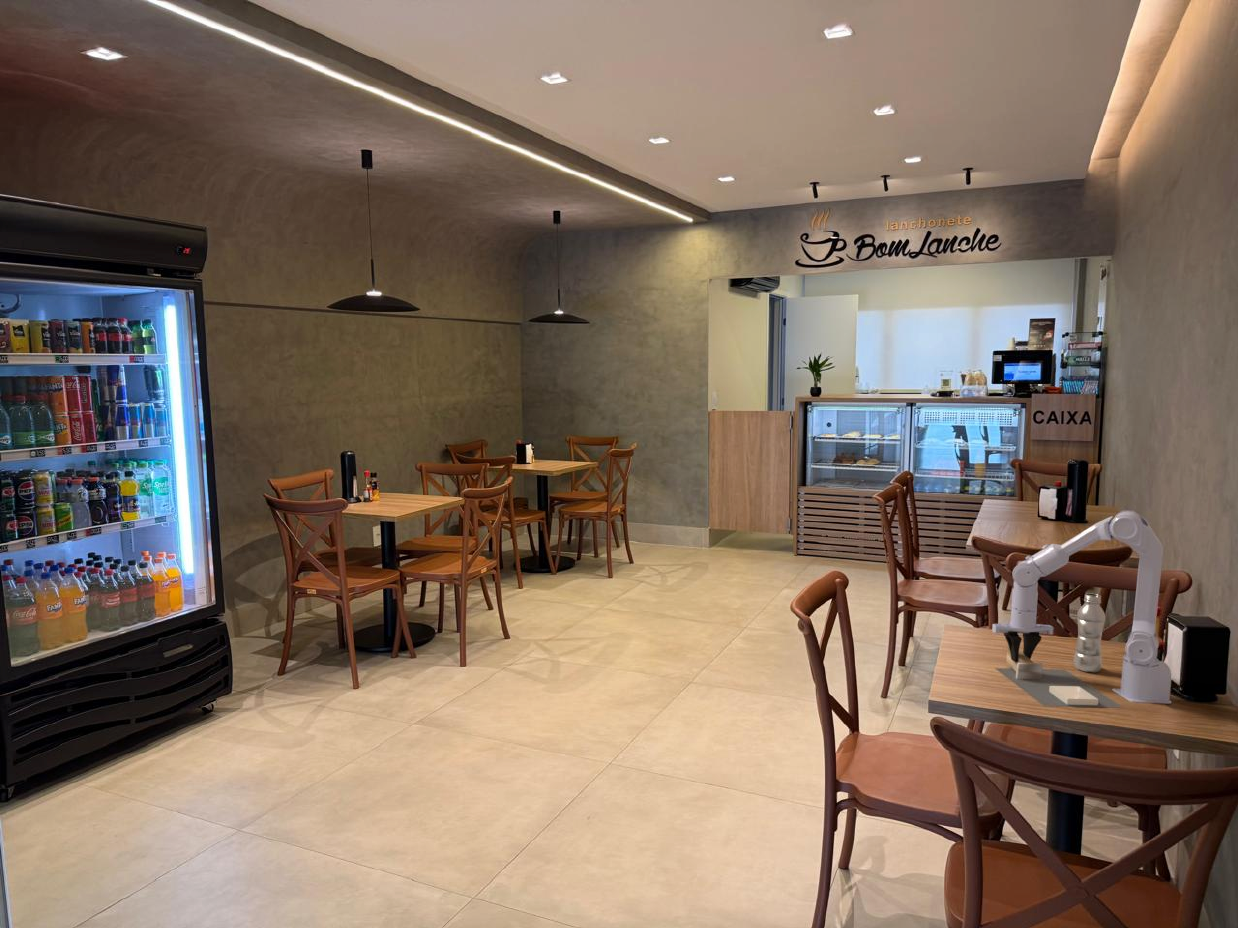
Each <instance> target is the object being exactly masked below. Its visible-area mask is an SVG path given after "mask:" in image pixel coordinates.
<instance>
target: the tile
mask: <svg viewBox="0 0 1238 928" xmlns="http://www.w3.org/2000/svg"><path fill="white" fill-rule="evenodd" d="M1049 692H1050V693H1051V694H1052V695H1054V696H1055V697H1056V698H1058V699H1059V700H1061V701H1062V702H1063V703H1065V704H1066V705H1073V706H1097V705H1098V699H1097V698H1096V697H1094V696H1093V695H1091V694H1090V693H1088V692H1087V691H1085V690H1084V689H1082V688H1081V687H1079V686H1050V687H1049Z"/></svg>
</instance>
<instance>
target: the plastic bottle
mask: <svg viewBox="0 0 1238 928" xmlns="http://www.w3.org/2000/svg"><path fill="white" fill-rule="evenodd" d="M1083 601H1084V603H1083V605H1081V606H1080V608H1079V609H1078V610H1077V613H1076V615H1077V616H1076V617H1077V643H1076V648H1075V651H1074V654H1073V655H1074V656H1073V665H1074V666H1075V669H1077V670H1079V671H1082V672H1086V673H1099V671H1101V669H1102V666H1103V657H1102V636H1103V631H1104V626H1105V622H1106V614H1105V611H1104V609H1103V608H1102V607H1101V605H1100V604H1102V595H1100V594H1097V593H1091V592H1090V593H1084V598H1083Z"/></svg>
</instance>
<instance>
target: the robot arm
mask: <svg viewBox="0 0 1238 928" xmlns="http://www.w3.org/2000/svg"><path fill="white" fill-rule="evenodd" d="M1113 517H1114V518H1113ZM1113 538H1115V539H1116V540H1117V541H1120V542H1121V543H1123V544H1125V545H1128V546H1129V547H1130V548H1131V549H1132V550H1133V551H1134V552H1136V554H1138V556H1139V557H1138V568H1137V578H1136V579H1137V580H1136V590H1135V600H1134V611H1133V618H1132V619H1133V621H1132V626H1131V627H1132V628H1131V632H1130V633H1129V635H1128V637H1127V642H1126V644H1125V647H1124V650H1125V654H1124V655H1123V658H1122V669H1121V679H1120V680H1121V681H1120V688H1112V690H1111V691H1113V692H1115V693H1116V694H1118V695H1119V696H1121V697H1122V698H1124V699H1126V700H1127V701H1129V702H1131V703H1145V704H1148V703H1150V704H1151V703H1152V704H1155V703H1156V704H1167V705H1168V704H1169V705H1170V704H1172V700H1170V698H1171V697H1170V696H1171V687H1172V672H1171V669H1170V667H1169V665H1168V663H1166V662H1164V661H1162V660H1159V659H1158V648H1159V646H1160V641H1159V638H1158V636H1157V633H1156V629H1157V614H1158V606H1159V605H1158V604H1159V595H1160V587H1161V585H1160V584H1161V577H1162V576H1161V575H1162V566H1163V565H1162V563H1163V555H1164V547H1163V544H1162V542H1161V541H1160V539H1159V538H1158V536H1157V535H1156V533H1155V532H1154V530H1153V528H1152V527H1151V525H1150V523H1149V521H1148V520H1147V519H1145V518H1144V517H1143V516H1141V514H1139V513H1138V512H1136V511H1133V510H1123V511H1120V512H1118V513H1117V514H1116V515H1115V516H1113V515H1111V516H1109V517H1106V518H1105V519H1102V520H1100V521H1098V522H1096V523H1094V524H1092V525H1091V526H1089V527H1088V528H1086V529H1085V530H1083V531H1082V532H1080V533H1079V534H1077V535H1075V536H1074V537H1072V538H1071V539H1068V540H1067V541H1065V542H1064V543H1062V544H1056V543H1051V544H1048V543H1047V544H1045V545H1043V546H1042V547H1041V550H1040V551H1038V552H1036V553H1034V554H1033V555H1027V556H1026V557H1025V560H1022V561H1020V562H1019V563H1018V564H1017V565H1016V566H1015V567H1014V568H1013V570H1012V573H1011V574H1012V579H1013V588H1012V596H1011V611H1010V622H1003V623H1002V622H1001V623H992V628H991V631H992V633H994V634H1003V636H1004V637H1005V640H1006V642H1007V645H1008V648H1009V649H1010V653H1011V660H1013V661H1014V662H1018V658H1019V650H1020V646H1021V643H1022V642H1023V648H1022V649H1023V650H1022V653H1023V654H1024V655H1026V656H1027V657H1028V658H1029V659H1030V660H1032V656H1033V653H1034V651H1035V650H1036V647H1037V646H1038V644H1040V643H1041V641H1042V636H1041V635H1040V634H1043V635H1044V634H1045V635H1046V634H1047V635H1054V627H1053V626H1052V625H1049V624H1041V623H1039V624H1038V623H1037V614H1038V613H1037V612H1038V610H1037V609H1038V596H1039V592H1038V587H1039V586H1038V585H1039V582H1038V581H1039V580H1040V579H1041V577H1042V578H1043V577H1047V576H1048V575H1051V574H1052V573H1054V572H1055V571H1057V570H1059V569H1060V568H1062V567H1064V566H1066V565H1067V564H1068V563H1069V560H1070V559H1069V558H1070V556H1072V555H1073V554H1076V553H1077V552H1079V551H1081V550H1083V549H1085V548H1086V547H1089V546H1091V545H1093V544H1094V543H1095V542H1098V541H1112V540H1113ZM1020 634H1022V637H1021V636H1020Z"/></svg>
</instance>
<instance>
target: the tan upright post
mask: <svg viewBox="0 0 1238 928" xmlns="http://www.w3.org/2000/svg"><path fill="white" fill-rule="evenodd" d="M1005 659H1006V661H1005V663H1006V664H1007V665H1008V666H1009V667H1010V668H1011V669H1014V670H1015V671H1016V679H1035V680H1041V678H1042V670H1043V669H1044V664H1043V663H1042V662H1041V663H1040V662H1034V661H1033V660H1032V659H1029V658H1028V657H1027V656H1026V655H1024V654H1023V651H1021V650H1020V649H1019V658H1018V662H1014V661H1013V660H1011V653H1010V649H1009V647H1007V651H1006V658H1005Z"/></svg>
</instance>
